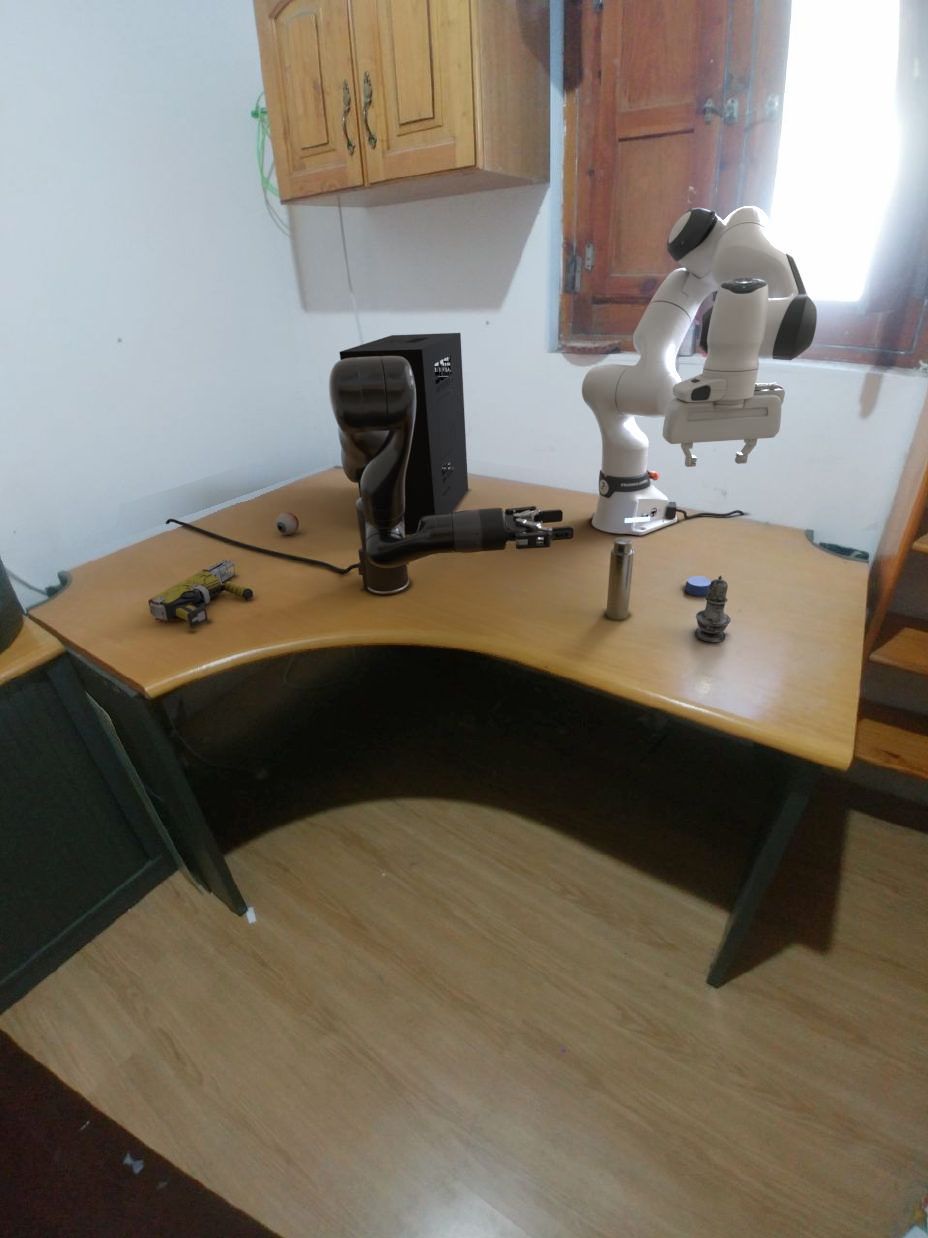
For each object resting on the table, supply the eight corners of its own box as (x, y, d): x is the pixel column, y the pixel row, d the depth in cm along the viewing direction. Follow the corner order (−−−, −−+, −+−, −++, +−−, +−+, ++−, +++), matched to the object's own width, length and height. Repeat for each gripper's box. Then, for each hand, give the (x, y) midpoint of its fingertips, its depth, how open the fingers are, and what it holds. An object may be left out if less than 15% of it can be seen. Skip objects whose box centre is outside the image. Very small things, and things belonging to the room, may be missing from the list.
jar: (602, 611, 120) (608, 537, 112) (622, 608, 121) (629, 535, 113) (610, 621, 117) (617, 546, 109) (631, 618, 117) (638, 543, 109)
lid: (712, 596, 123) (714, 586, 122) (687, 596, 124) (689, 586, 123) (707, 585, 127) (708, 575, 126) (683, 585, 128) (684, 575, 127)
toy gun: (275, 568, 138) (221, 556, 142) (203, 614, 118) (142, 599, 122) (277, 586, 140) (223, 575, 144) (207, 635, 120) (146, 620, 124)
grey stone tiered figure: (729, 644, 107) (742, 583, 101) (695, 641, 108) (705, 582, 102) (724, 627, 112) (735, 568, 106) (691, 625, 113) (700, 567, 107)
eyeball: (273, 537, 164) (268, 516, 161) (287, 528, 169) (282, 508, 166) (291, 539, 161) (286, 518, 158) (305, 530, 166) (301, 510, 163)
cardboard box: (436, 534, 159) (422, 349, 137) (364, 531, 164) (339, 351, 141) (468, 489, 191) (460, 332, 168) (407, 487, 195) (391, 335, 173)
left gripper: (481, 525, 99) (578, 517, 100) (472, 497, 112) (559, 490, 112) (483, 566, 103) (576, 558, 104) (474, 535, 115) (558, 528, 116)
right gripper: (777, 379, 108) (762, 456, 115) (664, 386, 108) (656, 463, 115) (796, 384, 102) (779, 465, 109) (676, 392, 102) (667, 472, 109)
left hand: (567, 523), depth 108 cm, fingers open, 8 cm apart
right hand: (715, 464), depth 112 cm, fingers open, 8 cm apart
